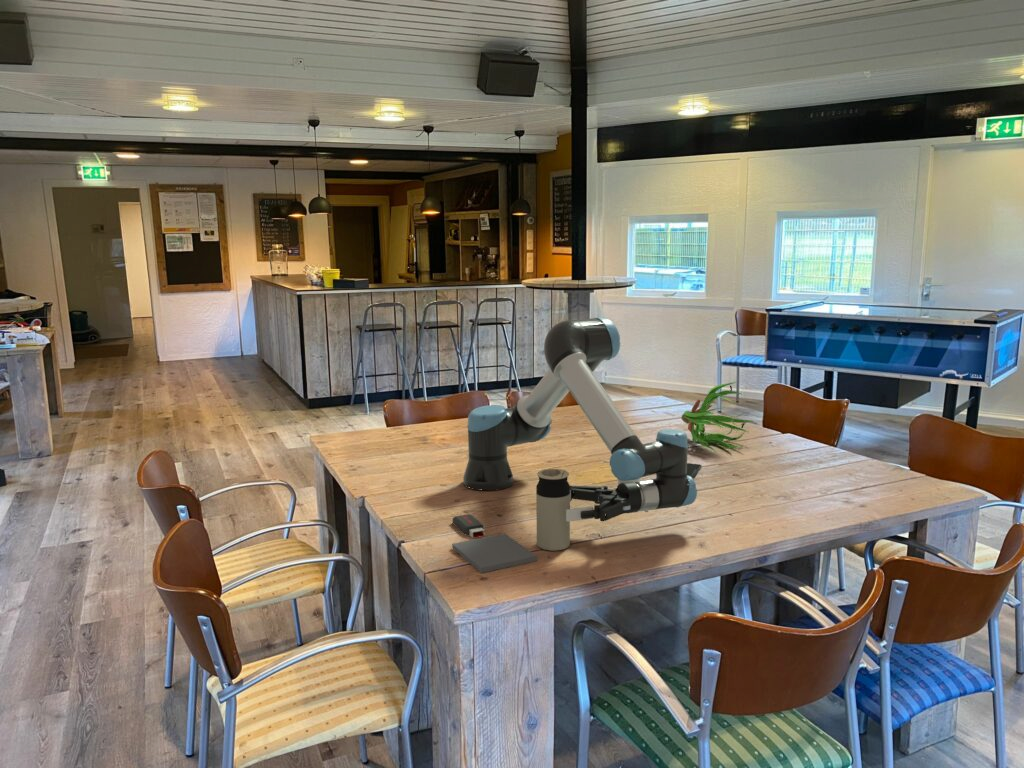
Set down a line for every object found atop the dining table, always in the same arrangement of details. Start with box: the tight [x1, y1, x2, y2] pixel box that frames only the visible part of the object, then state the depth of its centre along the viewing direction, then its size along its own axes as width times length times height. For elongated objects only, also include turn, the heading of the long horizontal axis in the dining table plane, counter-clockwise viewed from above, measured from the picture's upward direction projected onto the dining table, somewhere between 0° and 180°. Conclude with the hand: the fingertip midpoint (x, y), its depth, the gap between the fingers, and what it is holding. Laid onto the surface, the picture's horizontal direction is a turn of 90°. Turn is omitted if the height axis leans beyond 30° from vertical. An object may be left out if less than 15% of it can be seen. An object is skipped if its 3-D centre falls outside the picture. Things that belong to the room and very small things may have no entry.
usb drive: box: [452, 513, 486, 539], centre depth 193 cm, size 5×12×3 cm, turn 24°
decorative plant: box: [681, 381, 754, 452], centre depth 272 cm, size 26×25×30 cm
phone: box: [687, 462, 703, 480], centre depth 240 cm, size 8×1×15 cm
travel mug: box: [535, 468, 571, 552], centre depth 180 cm, size 8×8×18 cm
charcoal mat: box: [452, 532, 538, 574], centre depth 176 cm, size 16×14×1 cm
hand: (555, 506), depth 180 cm, fingers open, 13 cm apart
